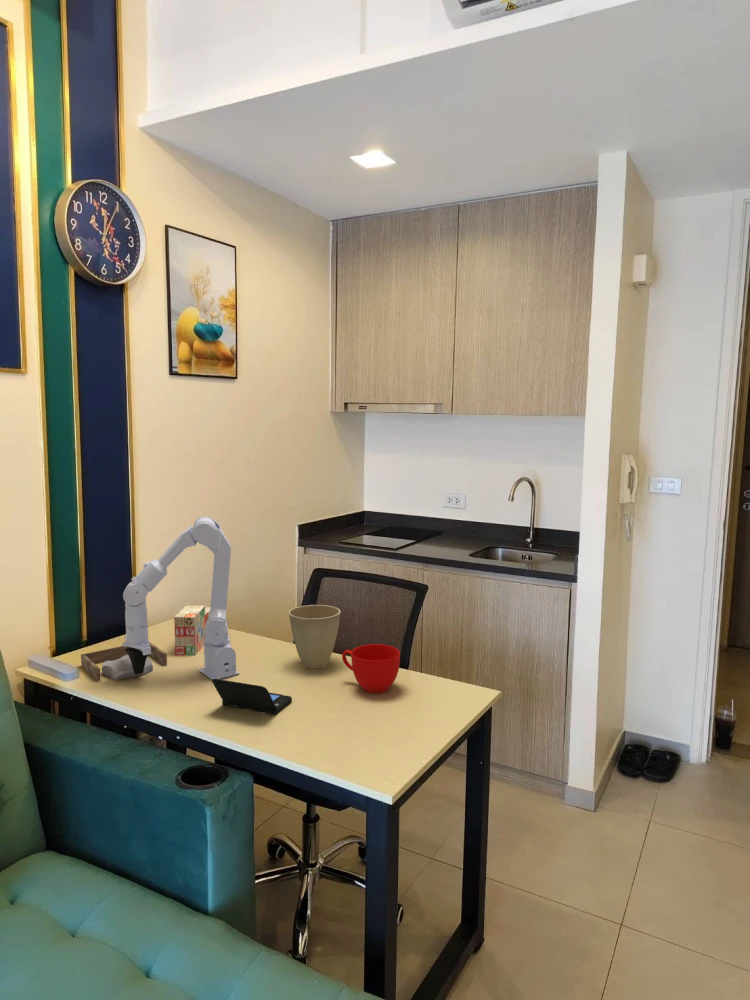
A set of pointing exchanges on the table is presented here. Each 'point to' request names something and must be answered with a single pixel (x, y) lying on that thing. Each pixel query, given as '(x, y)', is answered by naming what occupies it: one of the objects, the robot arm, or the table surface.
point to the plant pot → (314, 633)
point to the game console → (250, 697)
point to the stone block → (123, 668)
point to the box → (114, 658)
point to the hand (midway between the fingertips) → (138, 673)
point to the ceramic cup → (374, 666)
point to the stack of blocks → (190, 629)
